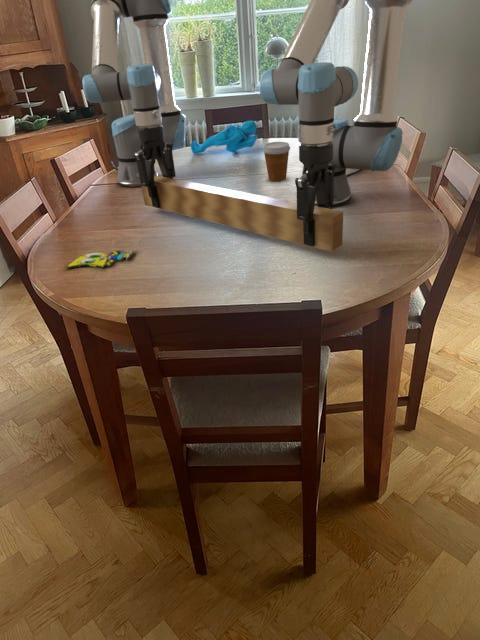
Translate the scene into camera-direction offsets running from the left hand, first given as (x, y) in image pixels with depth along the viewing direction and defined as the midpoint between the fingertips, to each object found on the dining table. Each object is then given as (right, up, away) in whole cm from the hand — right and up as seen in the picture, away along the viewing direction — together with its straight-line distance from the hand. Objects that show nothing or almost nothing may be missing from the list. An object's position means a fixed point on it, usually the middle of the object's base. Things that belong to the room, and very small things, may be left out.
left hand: (162, 203), depth 150 cm
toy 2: (+18, +37, +61) cm, 74 cm away
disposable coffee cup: (+38, +14, +22) cm, 46 cm away
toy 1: (-12, -21, -25) cm, 34 cm away
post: (+21, -9, -16) cm, 28 cm away
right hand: (+43, -17, -32) cm, 56 cm away
